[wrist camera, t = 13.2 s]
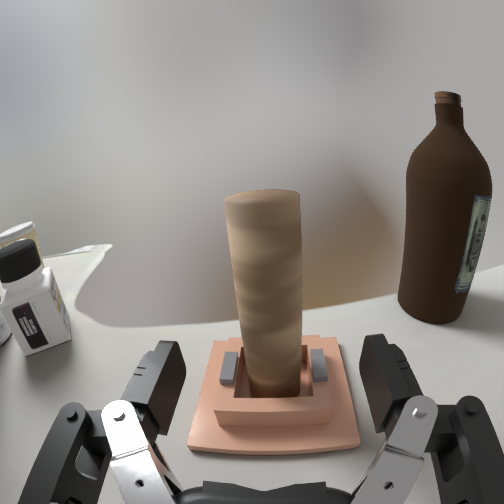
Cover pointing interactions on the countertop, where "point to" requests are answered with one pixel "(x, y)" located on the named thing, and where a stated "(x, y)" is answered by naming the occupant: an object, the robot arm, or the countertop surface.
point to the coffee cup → (20, 235)
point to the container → (31, 299)
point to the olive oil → (443, 217)
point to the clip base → (275, 406)
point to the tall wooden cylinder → (268, 287)
